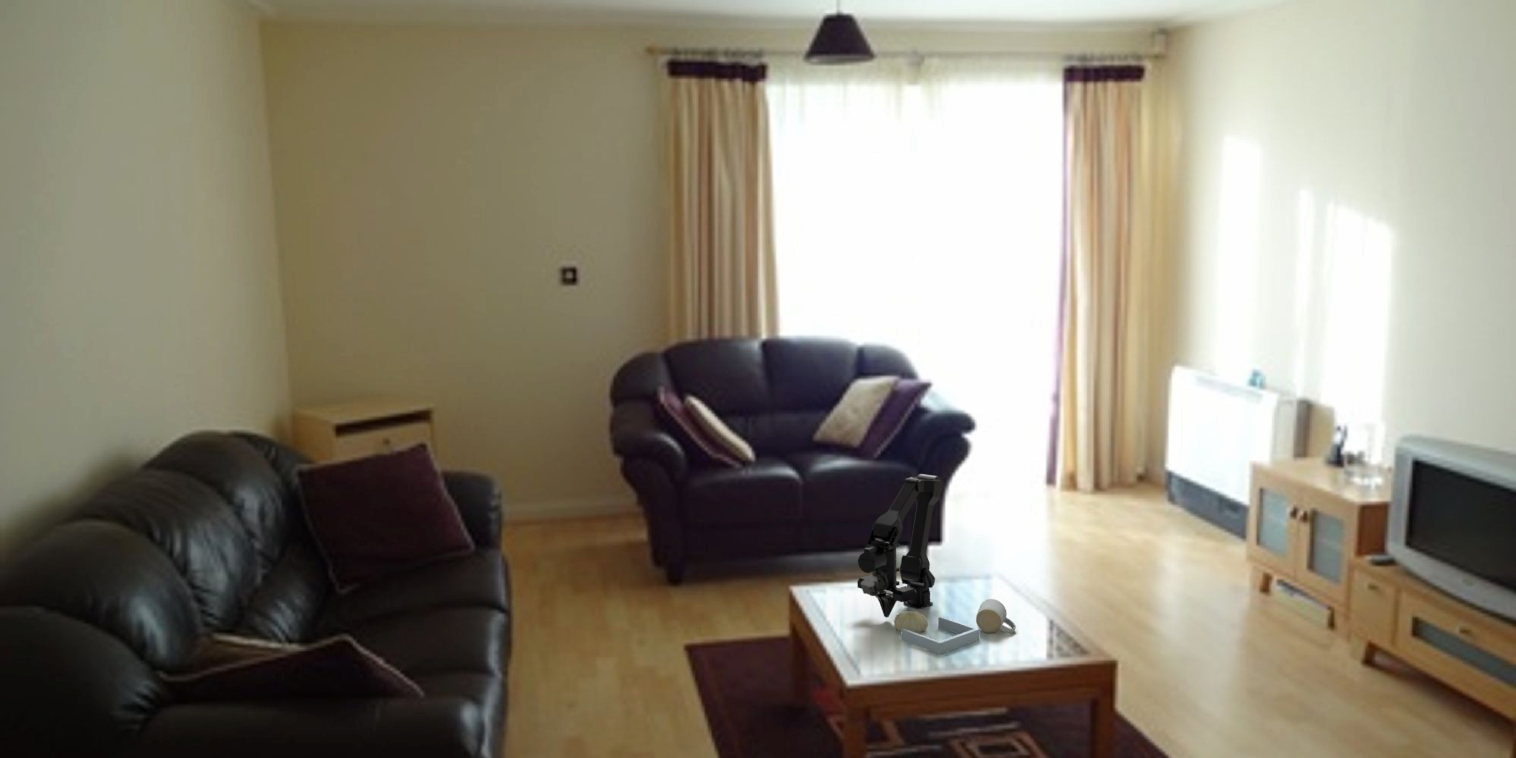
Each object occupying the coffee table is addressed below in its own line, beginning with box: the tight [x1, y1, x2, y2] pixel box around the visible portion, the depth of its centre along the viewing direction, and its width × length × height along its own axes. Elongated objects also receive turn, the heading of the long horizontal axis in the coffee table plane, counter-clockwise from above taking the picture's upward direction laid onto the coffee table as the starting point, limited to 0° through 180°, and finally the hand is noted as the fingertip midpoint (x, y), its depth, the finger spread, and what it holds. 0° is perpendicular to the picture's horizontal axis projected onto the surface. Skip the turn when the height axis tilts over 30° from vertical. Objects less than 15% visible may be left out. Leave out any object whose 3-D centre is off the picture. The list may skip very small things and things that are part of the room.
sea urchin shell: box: [893, 610, 929, 634], centre depth 298 cm, size 9×8×8 cm
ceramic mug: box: [975, 598, 1017, 634], centre depth 296 cm, size 11×8×8 cm
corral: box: [900, 615, 981, 655], centre depth 290 cm, size 14×16×3 cm
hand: (886, 617), depth 306 cm, fingers closed
